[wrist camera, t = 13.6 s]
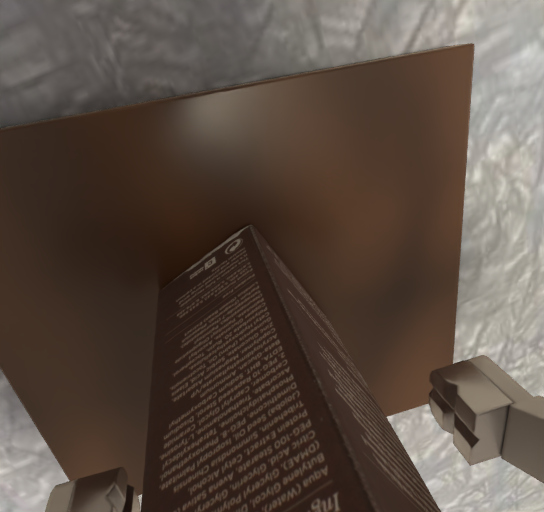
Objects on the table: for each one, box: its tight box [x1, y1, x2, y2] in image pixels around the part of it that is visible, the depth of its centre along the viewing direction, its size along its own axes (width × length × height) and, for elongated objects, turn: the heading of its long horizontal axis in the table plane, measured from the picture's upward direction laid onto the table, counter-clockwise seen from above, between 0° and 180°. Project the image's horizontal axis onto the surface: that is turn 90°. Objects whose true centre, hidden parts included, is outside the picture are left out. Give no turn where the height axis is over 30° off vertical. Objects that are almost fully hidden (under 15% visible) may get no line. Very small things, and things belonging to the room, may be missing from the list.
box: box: [141, 225, 441, 512], centre depth 10 cm, size 6×4×12 cm
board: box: [0, 43, 474, 495], centre depth 16 cm, size 18×16×1 cm
